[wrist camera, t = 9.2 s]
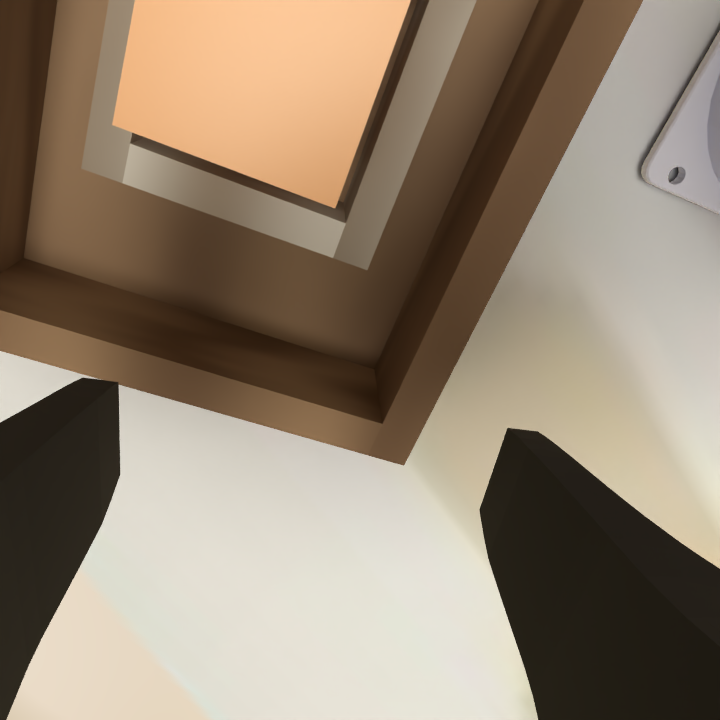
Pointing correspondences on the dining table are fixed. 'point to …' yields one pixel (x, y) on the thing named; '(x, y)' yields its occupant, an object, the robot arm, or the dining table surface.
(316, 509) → the dining table surface
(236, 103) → the plug
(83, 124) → the box
